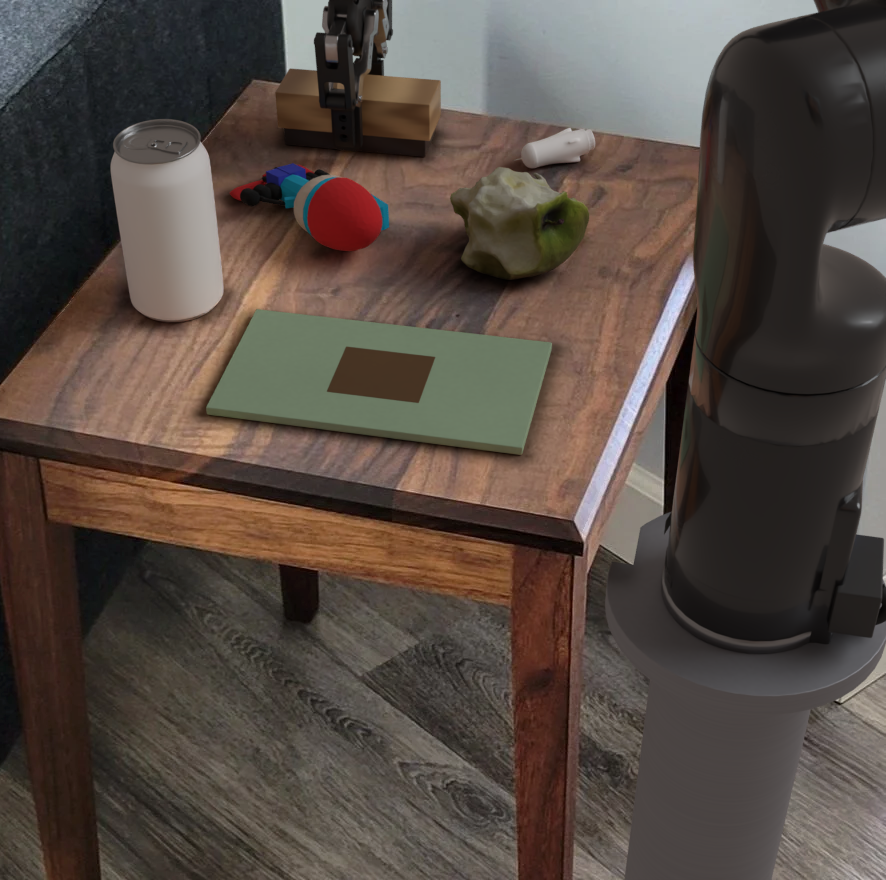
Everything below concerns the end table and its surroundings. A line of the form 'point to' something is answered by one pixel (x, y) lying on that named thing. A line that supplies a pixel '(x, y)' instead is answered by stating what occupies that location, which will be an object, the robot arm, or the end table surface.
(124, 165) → the can
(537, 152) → the small white plastic part
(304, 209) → the toy figure
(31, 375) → the end table surface
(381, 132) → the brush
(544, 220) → the fruit
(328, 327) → the mat
